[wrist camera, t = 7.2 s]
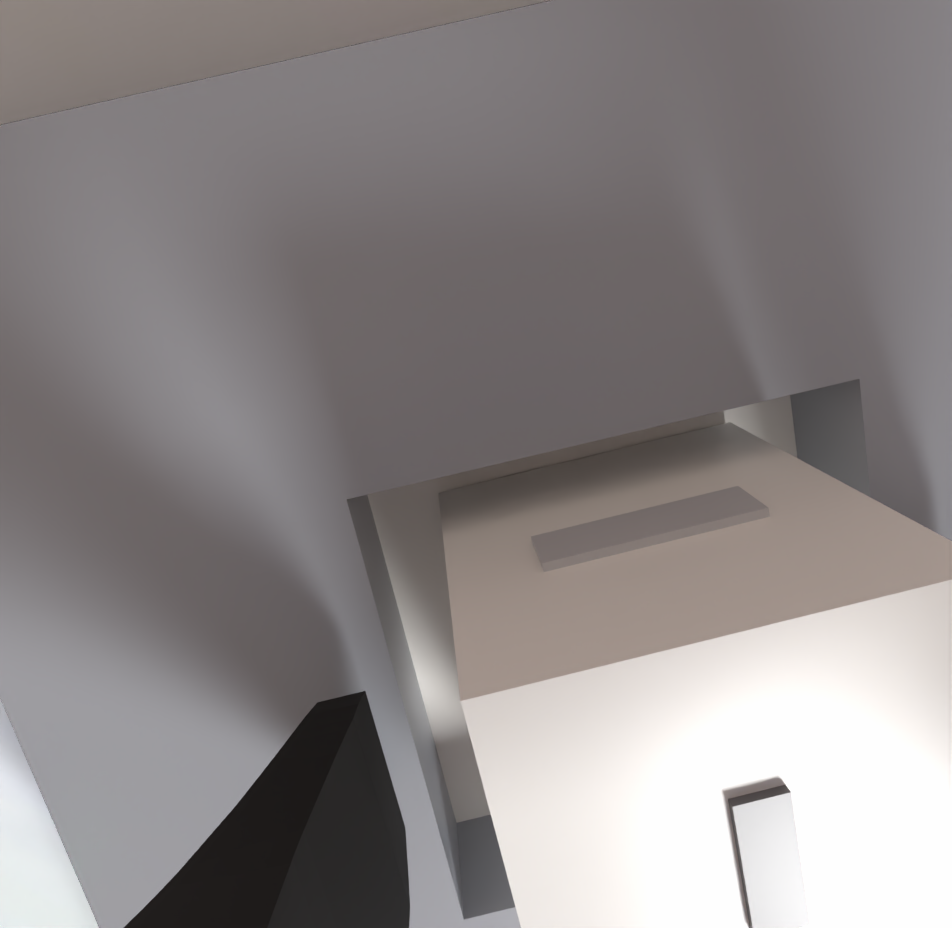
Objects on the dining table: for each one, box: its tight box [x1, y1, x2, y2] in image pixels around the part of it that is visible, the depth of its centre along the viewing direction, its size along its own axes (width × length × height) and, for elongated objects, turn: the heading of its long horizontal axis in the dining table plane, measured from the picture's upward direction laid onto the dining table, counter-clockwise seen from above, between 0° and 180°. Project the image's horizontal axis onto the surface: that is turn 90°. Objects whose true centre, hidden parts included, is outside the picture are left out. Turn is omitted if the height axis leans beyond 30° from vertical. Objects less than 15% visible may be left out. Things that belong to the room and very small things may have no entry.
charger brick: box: [438, 422, 952, 928], centre depth 10 cm, size 4×4×6 cm
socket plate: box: [0, 0, 952, 928], centre depth 12 cm, size 16×16×2 cm
